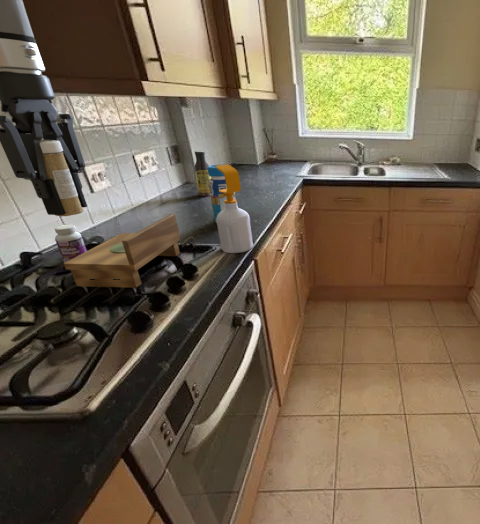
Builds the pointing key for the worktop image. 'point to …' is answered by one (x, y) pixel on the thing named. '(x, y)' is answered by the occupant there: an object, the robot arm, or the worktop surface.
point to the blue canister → (217, 189)
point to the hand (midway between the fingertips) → (68, 210)
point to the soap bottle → (233, 216)
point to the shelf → (125, 255)
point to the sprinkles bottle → (60, 176)
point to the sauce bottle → (202, 174)
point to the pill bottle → (69, 242)
